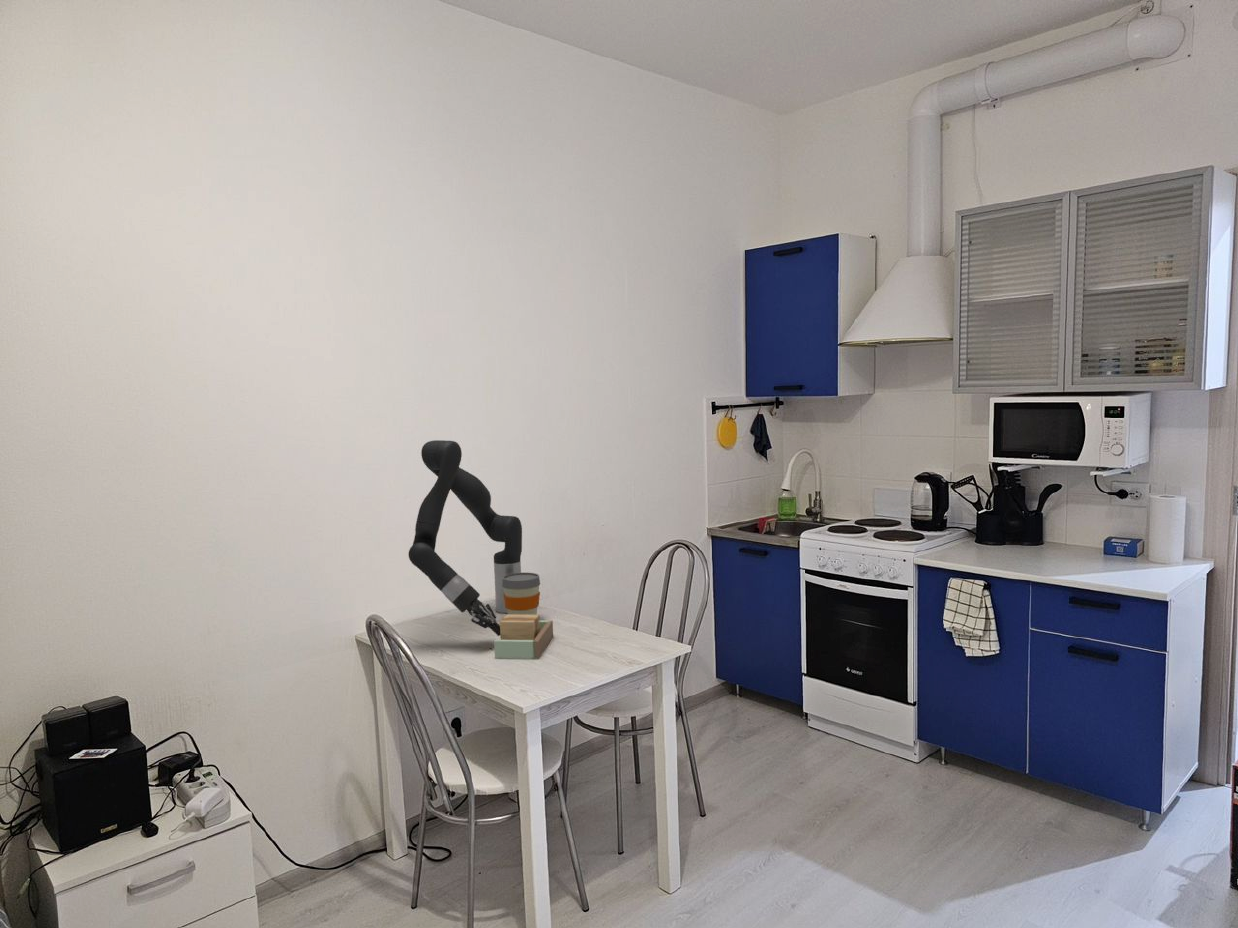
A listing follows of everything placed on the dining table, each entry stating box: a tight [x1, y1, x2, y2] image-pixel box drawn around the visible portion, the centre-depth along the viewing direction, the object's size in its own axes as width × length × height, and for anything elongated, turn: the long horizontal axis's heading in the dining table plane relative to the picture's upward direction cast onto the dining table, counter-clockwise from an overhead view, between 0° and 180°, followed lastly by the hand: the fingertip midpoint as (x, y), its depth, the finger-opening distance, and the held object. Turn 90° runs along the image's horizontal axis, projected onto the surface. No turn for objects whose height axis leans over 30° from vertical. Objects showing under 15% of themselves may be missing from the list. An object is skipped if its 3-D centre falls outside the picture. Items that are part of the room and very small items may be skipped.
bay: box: [493, 620, 554, 660], centre depth 244 cm, size 21×13×5 cm, turn 173°
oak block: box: [499, 613, 541, 640], centre depth 243 cm, size 8×10×9 cm
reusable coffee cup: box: [502, 572, 541, 615], centre depth 271 cm, size 12×13×15 cm
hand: (501, 633), depth 244 cm, fingers closed
